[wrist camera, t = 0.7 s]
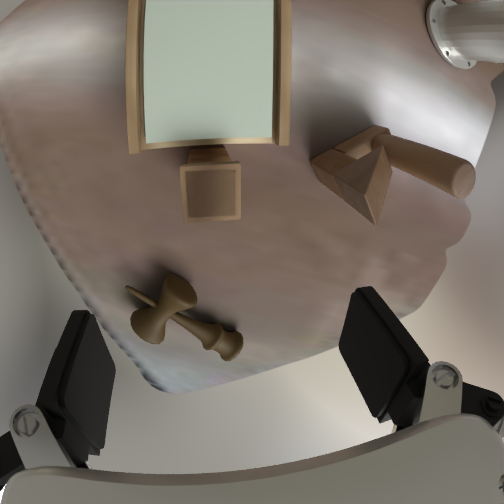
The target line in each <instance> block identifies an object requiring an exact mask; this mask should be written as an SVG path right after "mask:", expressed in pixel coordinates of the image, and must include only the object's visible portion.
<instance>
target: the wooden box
mask: <svg viewBox="0 0 504 504" xmlns="http://www.w3.org/2000/svg"><path fill="white" fill-rule="evenodd" d="M145 8H146V0H128V13H127V30H126V111H127V129H128V143H129V154H134V153H140V152H141V151H142V150H147V149H157V148H167V147H180V146H194V145H212V144H240V143H275V144H277V145H279V146H289V133H290V101H291V33H292V18H291V0H274V5H273V101H272V137H245V138H212V139H194V140H180V141H168V142H157V143H147V144H146V134H145V114H144V26H145Z"/></svg>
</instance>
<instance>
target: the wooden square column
mask: <svg viewBox="0 0 504 504" xmlns="http://www.w3.org/2000/svg"><path fill="white" fill-rule="evenodd" d="M180 179H181V193H182V206H183V218H184V223H190V222H205V221H221V220H238V219H241V164H240V162H239V161H234V162H232V161H231V159H230V157H229V155H228V153H227V151H226V149H225V147H217V148H198V149H190V153H189V157H188V161H187V164H181V165H180Z"/></svg>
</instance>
